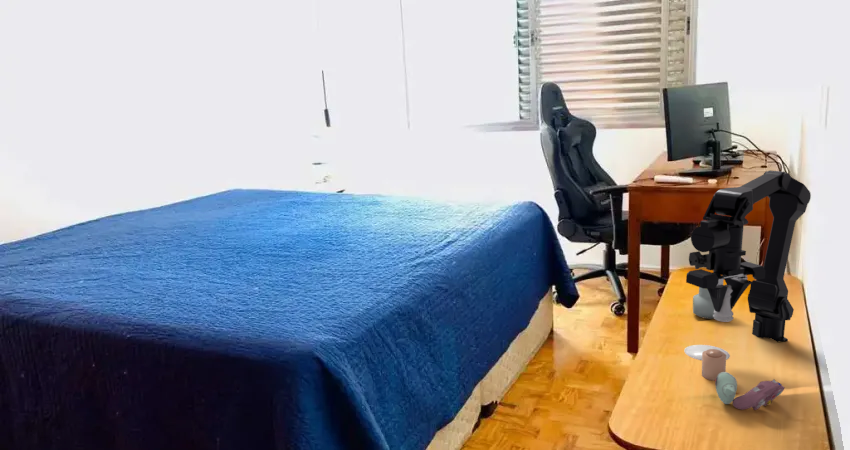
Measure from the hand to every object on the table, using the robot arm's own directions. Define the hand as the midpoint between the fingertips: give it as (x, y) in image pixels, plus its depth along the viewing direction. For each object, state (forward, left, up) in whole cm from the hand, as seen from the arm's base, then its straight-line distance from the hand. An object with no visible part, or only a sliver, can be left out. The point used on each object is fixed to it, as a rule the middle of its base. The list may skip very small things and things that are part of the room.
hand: (723, 310), depth 156 cm
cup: (+7, +10, -12) cm, 17 cm away
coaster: (+2, -2, -12) cm, 13 cm away
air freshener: (-13, -28, -13) cm, 33 cm away
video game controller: (+5, +23, -13) cm, 26 cm away
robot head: (+11, +21, -12) cm, 26 cm away
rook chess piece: (0, 0, -2) cm, 2 cm away
